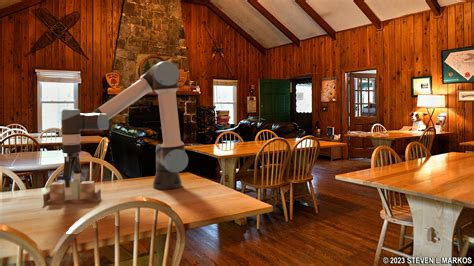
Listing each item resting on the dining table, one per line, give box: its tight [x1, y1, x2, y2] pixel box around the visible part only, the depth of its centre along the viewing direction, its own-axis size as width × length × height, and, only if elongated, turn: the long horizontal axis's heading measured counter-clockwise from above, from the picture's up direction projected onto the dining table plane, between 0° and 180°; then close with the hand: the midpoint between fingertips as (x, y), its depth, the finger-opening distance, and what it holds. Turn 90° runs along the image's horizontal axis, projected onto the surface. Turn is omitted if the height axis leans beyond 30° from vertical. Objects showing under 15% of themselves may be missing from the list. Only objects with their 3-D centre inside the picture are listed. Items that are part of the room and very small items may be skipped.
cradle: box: [42, 180, 102, 206], centre depth 159 cm, size 22×8×8 cm, turn 100°
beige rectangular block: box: [65, 178, 81, 200], centre depth 159 cm, size 5×5×8 cm
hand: (72, 191), depth 159 cm, fingers open, 13 cm apart
